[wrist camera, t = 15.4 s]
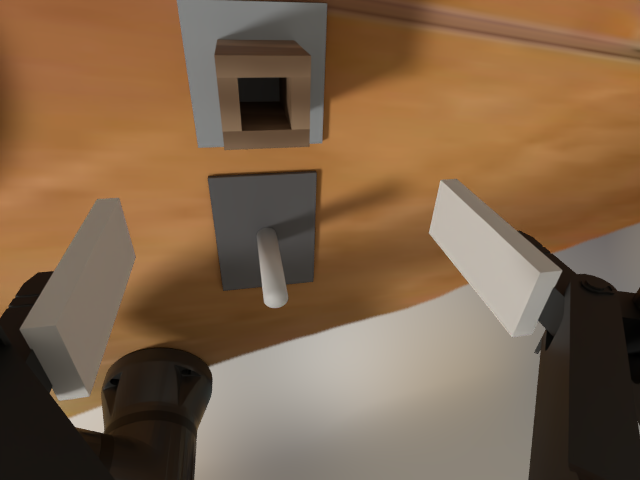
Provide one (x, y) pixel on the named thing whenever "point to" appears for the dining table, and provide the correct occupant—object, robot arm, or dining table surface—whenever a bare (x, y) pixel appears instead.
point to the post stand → (265, 231)
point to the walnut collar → (264, 117)
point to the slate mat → (248, 24)
